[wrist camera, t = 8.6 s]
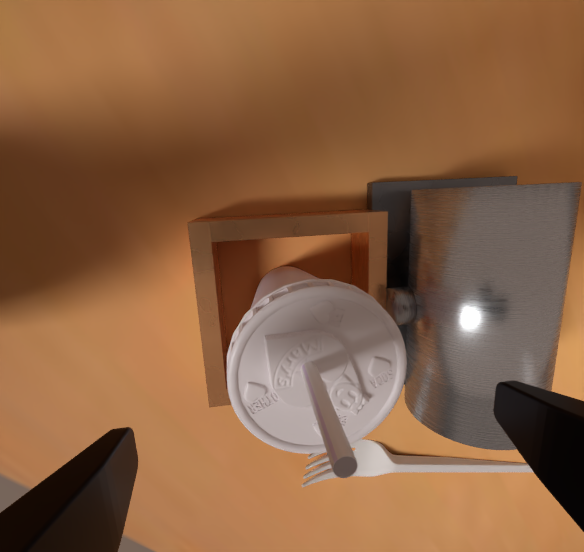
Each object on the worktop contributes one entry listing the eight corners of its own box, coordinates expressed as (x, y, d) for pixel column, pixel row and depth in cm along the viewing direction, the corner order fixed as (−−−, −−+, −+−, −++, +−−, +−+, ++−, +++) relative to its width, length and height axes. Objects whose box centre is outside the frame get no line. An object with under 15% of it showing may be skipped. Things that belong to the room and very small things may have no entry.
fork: (529, 477, 28) (549, 497, 26) (295, 471, 24) (300, 493, 22) (542, 443, 27) (563, 460, 26) (303, 431, 24) (309, 450, 22)
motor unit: (216, 399, 22) (201, 507, 14) (193, 191, 19) (158, 187, 11) (488, 367, 24) (600, 445, 17) (507, 176, 21) (653, 165, 14)
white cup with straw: (279, 221, 20) (354, 276, 6) (357, 286, 21) (552, 442, 8) (211, 305, 20) (147, 520, 7) (293, 362, 22) (371, 629, 8)
